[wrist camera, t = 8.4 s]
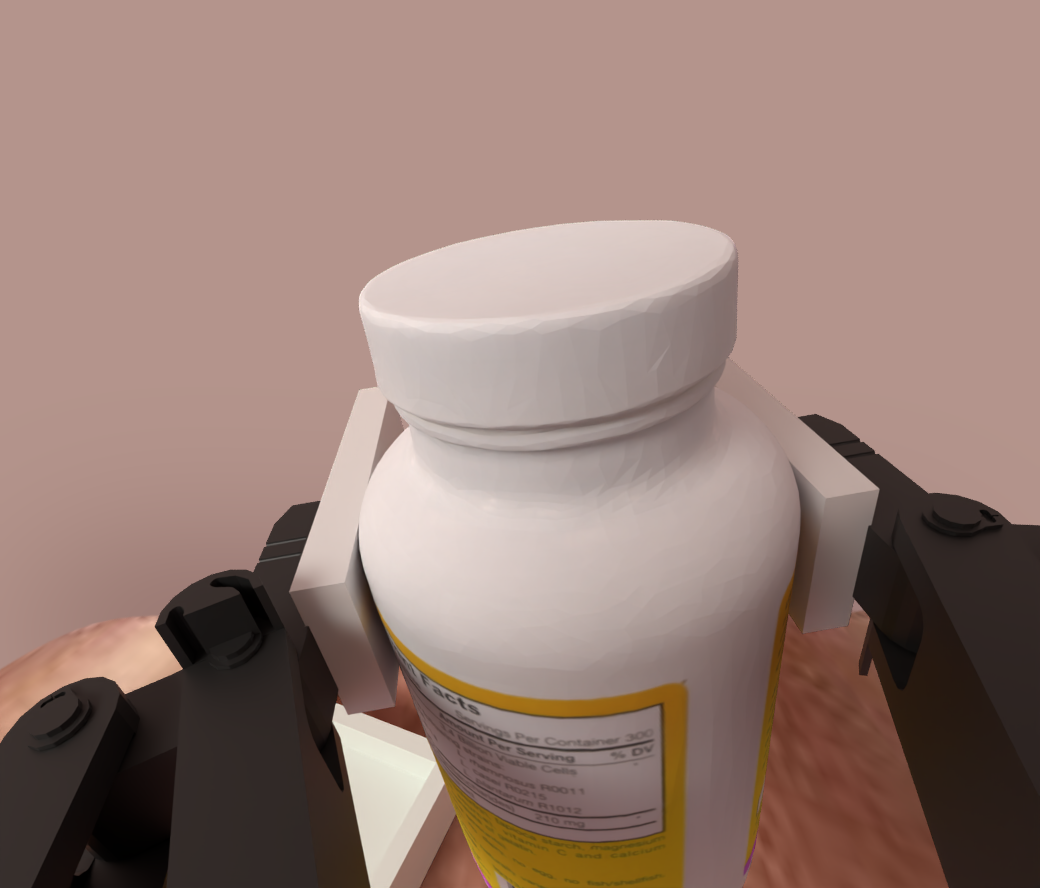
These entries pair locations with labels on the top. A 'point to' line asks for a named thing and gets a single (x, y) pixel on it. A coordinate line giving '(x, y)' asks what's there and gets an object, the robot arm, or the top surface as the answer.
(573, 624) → the supplement bottle
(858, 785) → the top surface
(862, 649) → the robot arm
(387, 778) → the tray
